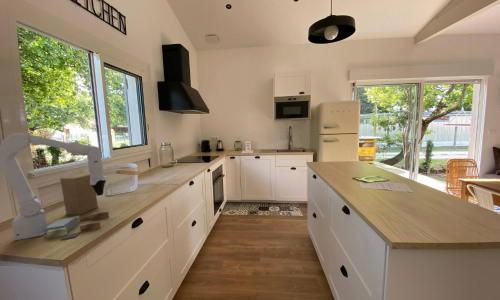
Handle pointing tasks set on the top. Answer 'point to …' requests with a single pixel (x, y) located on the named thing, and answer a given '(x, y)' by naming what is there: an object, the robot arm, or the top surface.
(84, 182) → the wooden block
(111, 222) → the top surface
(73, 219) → the slate block
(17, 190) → the robot arm
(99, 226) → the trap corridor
